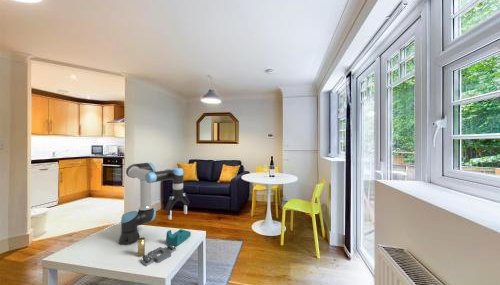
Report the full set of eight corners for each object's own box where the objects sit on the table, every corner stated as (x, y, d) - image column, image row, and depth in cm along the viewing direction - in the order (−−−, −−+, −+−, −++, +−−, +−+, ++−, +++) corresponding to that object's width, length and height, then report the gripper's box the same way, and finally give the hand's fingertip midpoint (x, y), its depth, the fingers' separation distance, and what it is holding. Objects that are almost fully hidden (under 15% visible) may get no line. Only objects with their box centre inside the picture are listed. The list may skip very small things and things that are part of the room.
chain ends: (138, 260, 139) (138, 254, 139) (168, 246, 158) (168, 241, 158) (149, 268, 131) (149, 261, 131) (178, 252, 150) (178, 246, 150)
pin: (136, 255, 145) (136, 239, 145) (143, 252, 149) (143, 236, 149) (139, 258, 142) (139, 241, 142) (146, 254, 146) (146, 238, 146)
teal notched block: (176, 247, 157) (177, 235, 157) (165, 244, 160) (166, 231, 160) (190, 237, 174) (191, 225, 174) (180, 234, 178) (181, 223, 177)
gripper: (165, 192, 137) (165, 223, 137) (194, 186, 157) (194, 212, 158) (159, 191, 141) (159, 220, 141) (188, 184, 162) (188, 210, 162)
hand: (177, 216), depth 149 cm, fingers open, 13 cm apart
